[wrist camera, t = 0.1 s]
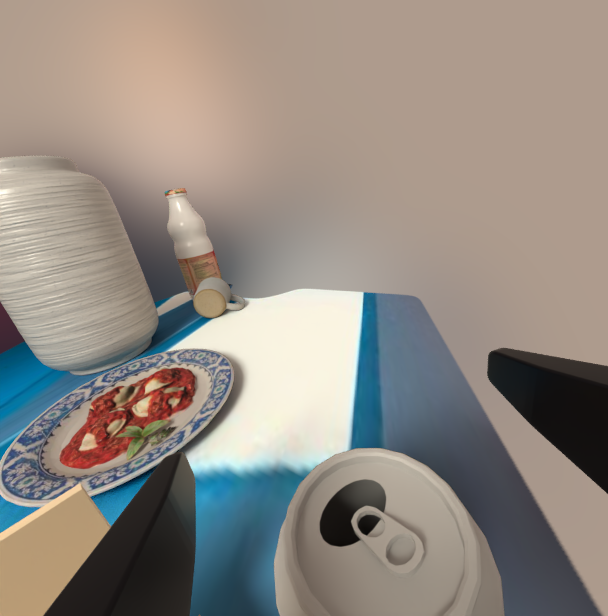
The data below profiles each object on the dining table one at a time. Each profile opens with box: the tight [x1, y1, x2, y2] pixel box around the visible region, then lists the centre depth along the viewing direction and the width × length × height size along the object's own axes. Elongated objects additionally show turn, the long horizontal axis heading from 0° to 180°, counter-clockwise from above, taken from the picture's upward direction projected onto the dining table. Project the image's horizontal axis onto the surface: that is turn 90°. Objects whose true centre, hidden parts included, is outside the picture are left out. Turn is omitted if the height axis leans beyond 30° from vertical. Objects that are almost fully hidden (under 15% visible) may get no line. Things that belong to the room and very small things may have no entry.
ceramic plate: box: [0, 349, 234, 507], centre depth 37 cm, size 26×26×3 cm
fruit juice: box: [165, 188, 222, 300], centre depth 76 cm, size 9×9×28 cm
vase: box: [0, 156, 158, 375], centre depth 51 cm, size 20×20×34 cm
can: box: [274, 448, 504, 616], centre depth 12 cm, size 8×8×12 cm
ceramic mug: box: [193, 277, 245, 318], centre depth 67 cm, size 11×8×8 cm
